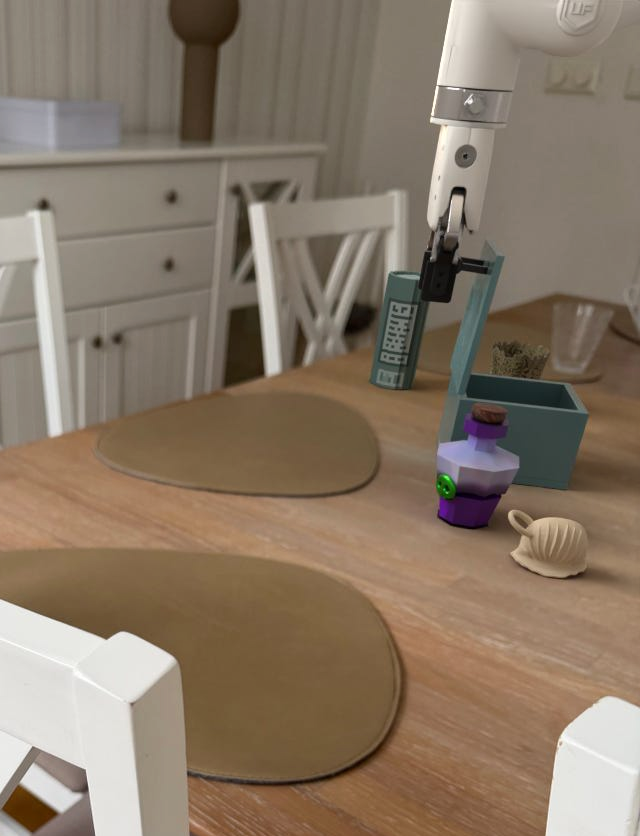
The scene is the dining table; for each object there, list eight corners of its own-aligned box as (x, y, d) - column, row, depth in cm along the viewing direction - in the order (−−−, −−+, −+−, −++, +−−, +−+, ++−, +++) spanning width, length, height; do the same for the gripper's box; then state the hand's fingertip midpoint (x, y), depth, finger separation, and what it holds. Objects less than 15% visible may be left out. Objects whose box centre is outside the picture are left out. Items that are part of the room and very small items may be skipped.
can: (415, 380, 144) (436, 274, 136) (409, 392, 139) (431, 282, 131) (374, 374, 146) (393, 268, 138) (366, 384, 141) (386, 276, 133)
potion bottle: (406, 516, 102) (430, 403, 95) (443, 494, 107) (468, 386, 101) (484, 543, 97) (515, 427, 91) (518, 519, 103) (549, 408, 97)
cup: (469, 401, 137) (483, 343, 133) (497, 392, 141) (511, 336, 137) (517, 416, 132) (533, 357, 128) (544, 407, 137) (560, 349, 133)
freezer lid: (492, 238, 109) (446, 230, 110) (505, 256, 100) (453, 248, 100) (456, 366, 117) (412, 359, 118) (464, 395, 107) (417, 387, 108)
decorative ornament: (587, 584, 91) (605, 531, 88) (495, 568, 92) (509, 516, 90) (583, 565, 94) (600, 514, 91) (494, 550, 96) (507, 499, 93)
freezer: (550, 454, 120) (570, 383, 116) (566, 490, 111) (589, 413, 106) (436, 440, 122) (452, 370, 117) (442, 474, 112) (459, 398, 108)
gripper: (519, 117, 91) (475, 317, 101) (498, 108, 105) (461, 283, 115) (437, 111, 92) (401, 309, 101) (428, 103, 106) (397, 277, 116)
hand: (433, 293), depth 108 cm, fingers closed on freezer lid, 5 cm apart
